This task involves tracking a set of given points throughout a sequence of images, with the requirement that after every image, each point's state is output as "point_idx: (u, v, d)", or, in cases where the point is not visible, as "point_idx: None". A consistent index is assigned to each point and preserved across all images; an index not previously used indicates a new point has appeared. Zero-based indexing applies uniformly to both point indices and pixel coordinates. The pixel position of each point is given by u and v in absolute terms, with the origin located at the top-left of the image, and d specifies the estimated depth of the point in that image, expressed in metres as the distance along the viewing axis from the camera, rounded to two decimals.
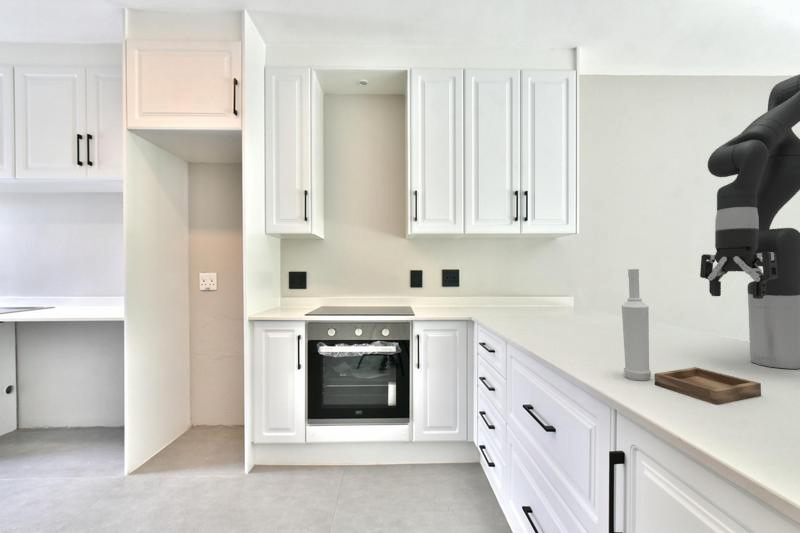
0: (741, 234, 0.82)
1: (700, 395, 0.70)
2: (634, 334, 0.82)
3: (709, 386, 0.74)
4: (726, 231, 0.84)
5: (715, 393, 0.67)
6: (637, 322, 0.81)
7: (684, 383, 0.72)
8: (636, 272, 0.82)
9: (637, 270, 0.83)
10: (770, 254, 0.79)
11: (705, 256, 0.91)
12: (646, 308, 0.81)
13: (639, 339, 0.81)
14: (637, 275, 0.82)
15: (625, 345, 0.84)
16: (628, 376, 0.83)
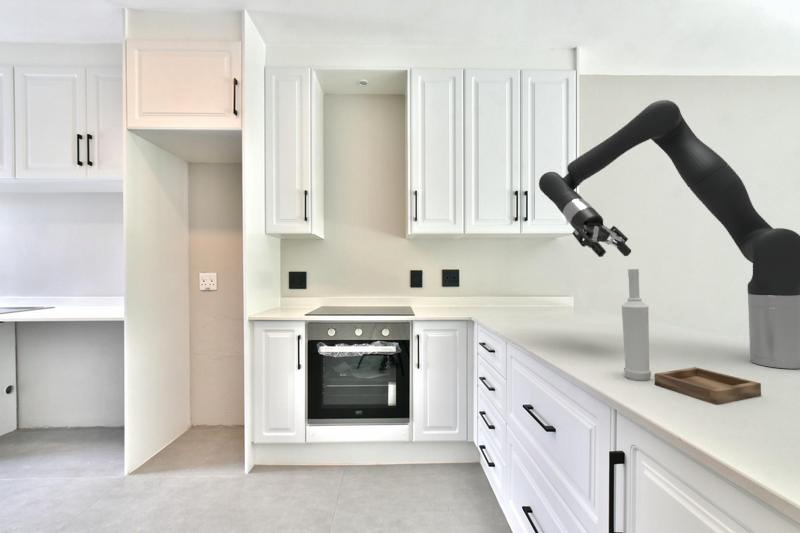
0: (573, 227, 1.07)
1: (700, 395, 0.70)
2: (634, 334, 0.82)
3: (709, 386, 0.74)
4: None
5: (715, 393, 0.67)
6: (637, 322, 0.81)
7: (684, 383, 0.72)
8: (636, 272, 0.82)
9: (637, 270, 0.83)
10: (573, 232, 1.02)
11: None
12: (646, 308, 0.81)
13: (639, 339, 0.81)
14: (637, 275, 0.82)
15: (625, 345, 0.84)
16: (628, 376, 0.83)
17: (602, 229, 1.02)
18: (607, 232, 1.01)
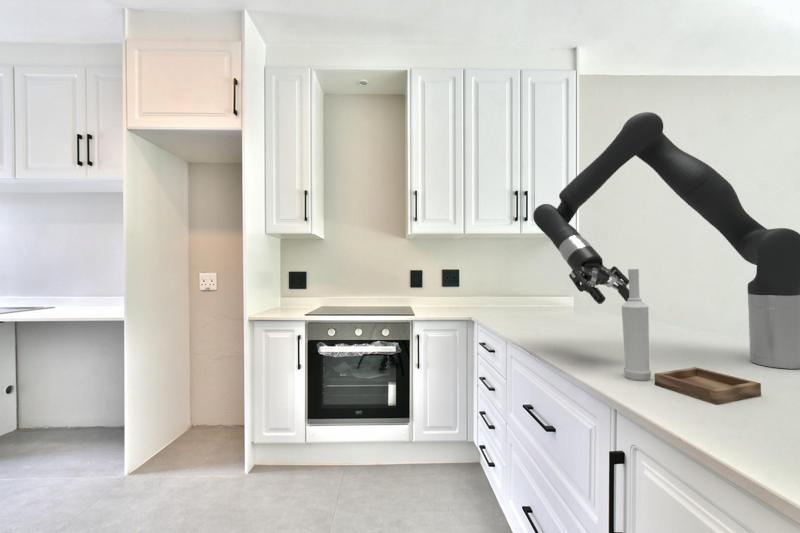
0: None
1: (700, 395, 0.70)
2: (634, 334, 0.82)
3: (709, 386, 0.74)
4: None
5: (715, 393, 0.67)
6: (637, 322, 0.81)
7: (684, 383, 0.72)
8: (636, 272, 0.82)
9: (637, 270, 0.83)
10: (570, 274, 0.93)
11: None
12: (646, 308, 0.81)
13: (639, 339, 0.81)
14: (637, 275, 0.82)
15: (625, 345, 0.84)
16: (628, 376, 0.83)
17: (601, 271, 0.93)
18: (607, 274, 0.93)
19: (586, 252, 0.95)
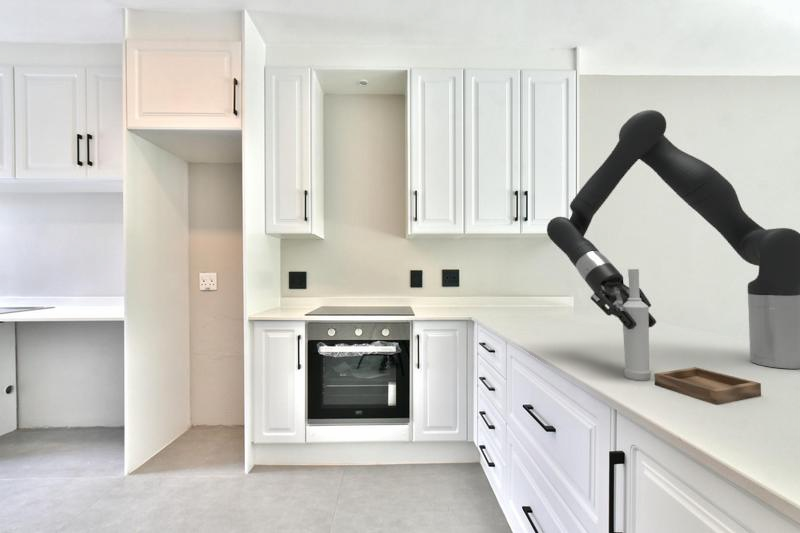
0: None
1: (700, 395, 0.70)
2: (634, 334, 0.82)
3: (709, 386, 0.74)
4: None
5: (715, 393, 0.67)
6: (637, 322, 0.81)
7: (684, 383, 0.72)
8: (636, 272, 0.82)
9: (637, 270, 0.83)
10: (592, 297, 0.87)
11: None
12: (646, 308, 0.81)
13: (639, 339, 0.81)
14: (637, 275, 0.82)
15: (625, 345, 0.84)
16: (628, 376, 0.83)
17: (622, 290, 0.87)
18: (627, 294, 0.87)
19: (606, 270, 0.89)
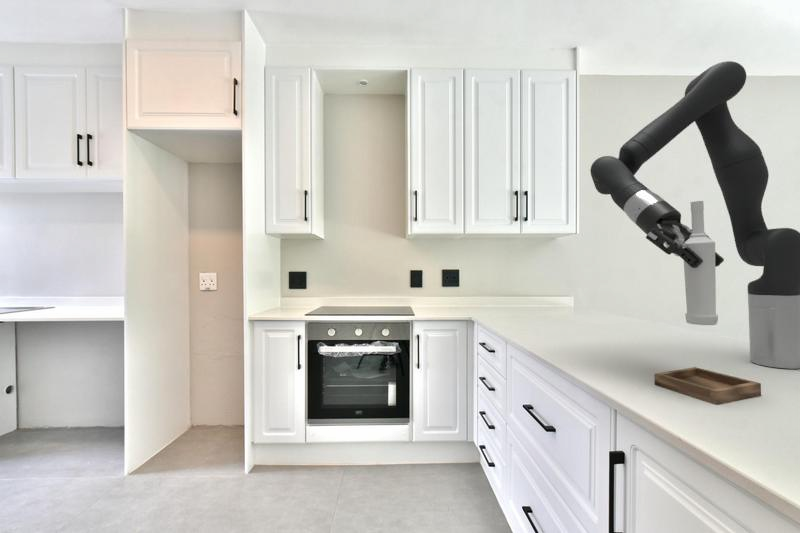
0: (640, 227, 0.84)
1: (700, 395, 0.70)
2: (699, 273, 0.73)
3: (709, 386, 0.74)
4: None
5: (715, 393, 0.67)
6: (703, 259, 0.72)
7: (684, 383, 0.72)
8: (701, 204, 0.73)
9: (702, 202, 0.73)
10: (648, 236, 0.78)
11: None
12: (713, 243, 0.72)
13: (705, 278, 0.72)
14: (702, 207, 0.73)
15: (687, 287, 0.75)
16: (691, 321, 0.74)
17: (681, 228, 0.78)
18: (688, 233, 0.77)
19: (662, 207, 0.80)
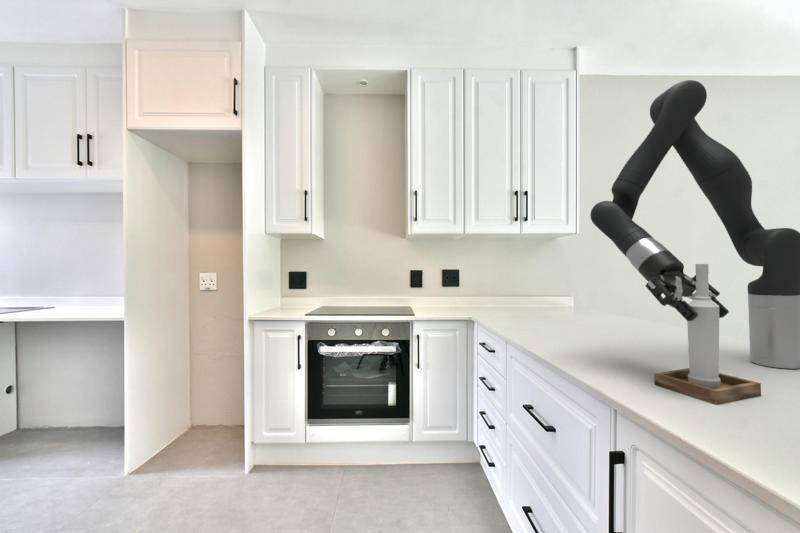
0: (642, 275, 0.84)
1: (700, 395, 0.70)
2: (703, 337, 0.72)
3: None
4: None
5: (715, 393, 0.67)
6: (707, 324, 0.72)
7: (684, 383, 0.72)
8: (706, 268, 0.73)
9: (707, 265, 0.73)
10: (648, 285, 0.78)
11: None
12: (717, 308, 0.72)
13: (709, 343, 0.72)
14: (707, 271, 0.73)
15: (691, 349, 0.75)
16: None
17: (685, 280, 0.78)
18: (692, 284, 0.77)
19: (665, 258, 0.80)
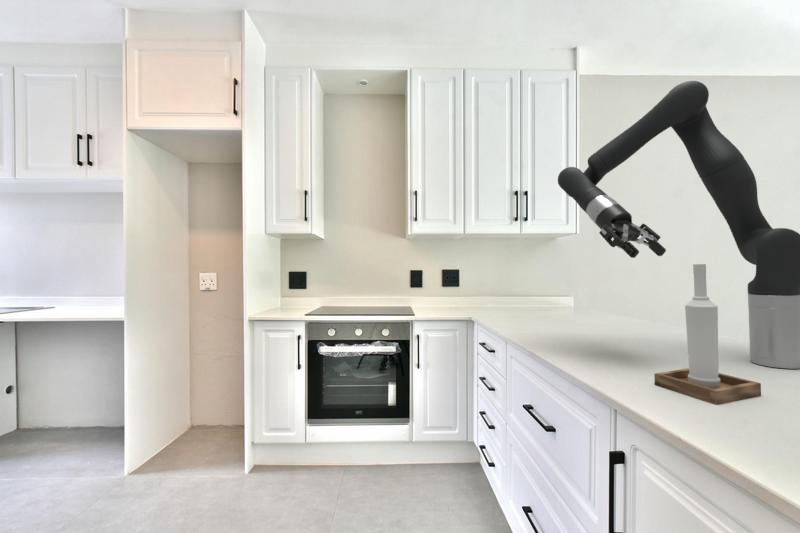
0: (599, 226, 0.99)
1: (700, 395, 0.70)
2: (702, 337, 0.73)
3: None
4: None
5: (715, 393, 0.67)
6: (706, 324, 0.72)
7: (684, 383, 0.72)
8: (704, 268, 0.73)
9: (704, 265, 0.74)
10: (601, 232, 0.93)
11: None
12: (716, 308, 0.72)
13: (708, 342, 0.72)
14: (704, 271, 0.73)
15: (690, 349, 0.75)
16: None
17: (632, 227, 0.93)
18: (637, 230, 0.93)
19: (615, 209, 0.95)
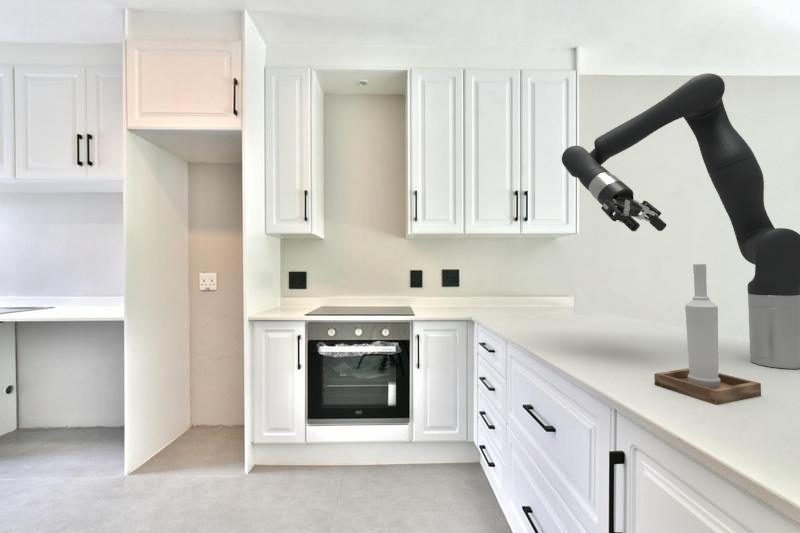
0: (601, 203, 1.00)
1: (700, 395, 0.70)
2: (702, 337, 0.73)
3: None
4: None
5: (715, 393, 0.67)
6: (706, 324, 0.72)
7: (684, 383, 0.72)
8: (704, 268, 0.73)
9: (704, 265, 0.74)
10: (602, 207, 0.95)
11: None
12: (716, 308, 0.72)
13: (708, 342, 0.72)
14: (705, 271, 0.73)
15: (690, 349, 0.75)
16: None
17: (633, 203, 0.95)
18: (639, 206, 0.94)
19: (618, 186, 0.96)
